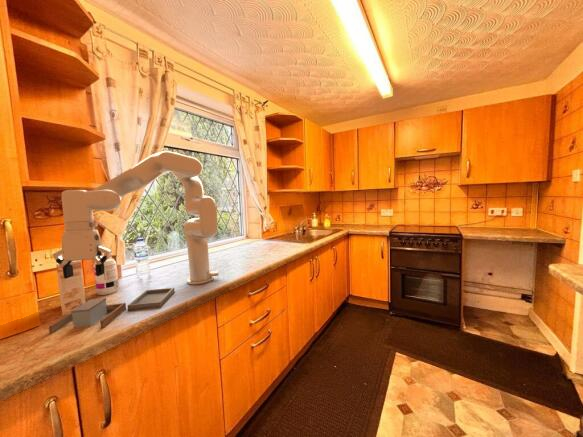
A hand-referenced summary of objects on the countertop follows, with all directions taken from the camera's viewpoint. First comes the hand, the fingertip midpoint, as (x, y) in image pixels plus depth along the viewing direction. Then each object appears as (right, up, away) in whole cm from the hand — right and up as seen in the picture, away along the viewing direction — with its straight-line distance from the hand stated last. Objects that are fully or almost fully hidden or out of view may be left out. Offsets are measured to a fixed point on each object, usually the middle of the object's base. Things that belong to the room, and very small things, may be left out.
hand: (84, 276), depth 82 cm
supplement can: (-14, -15, +29) cm, 35 cm away
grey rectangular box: (+1, -16, +2) cm, 16 cm away
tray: (+14, -14, +17) cm, 26 cm away
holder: (+1, -16, +2) cm, 16 cm away
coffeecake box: (-16, -16, +13) cm, 26 cm away
